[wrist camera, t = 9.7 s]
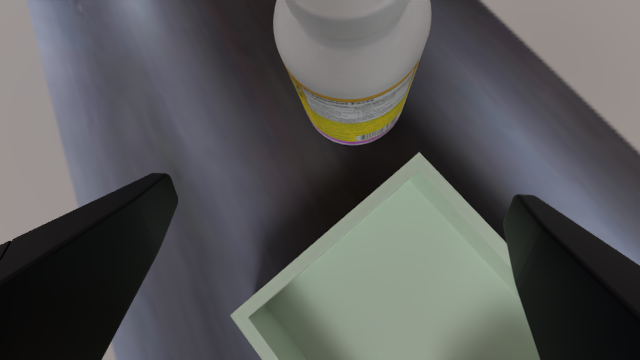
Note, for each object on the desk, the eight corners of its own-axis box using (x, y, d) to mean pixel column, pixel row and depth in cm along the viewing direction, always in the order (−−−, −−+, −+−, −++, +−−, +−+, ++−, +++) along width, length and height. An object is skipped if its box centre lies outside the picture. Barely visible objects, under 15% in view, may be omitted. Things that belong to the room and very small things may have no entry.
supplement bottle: (323, 46, 24) (285, -157, 12) (414, 69, 23) (482, -125, 11) (292, 133, 23) (216, 18, 11) (385, 160, 22) (421, 70, 10)
